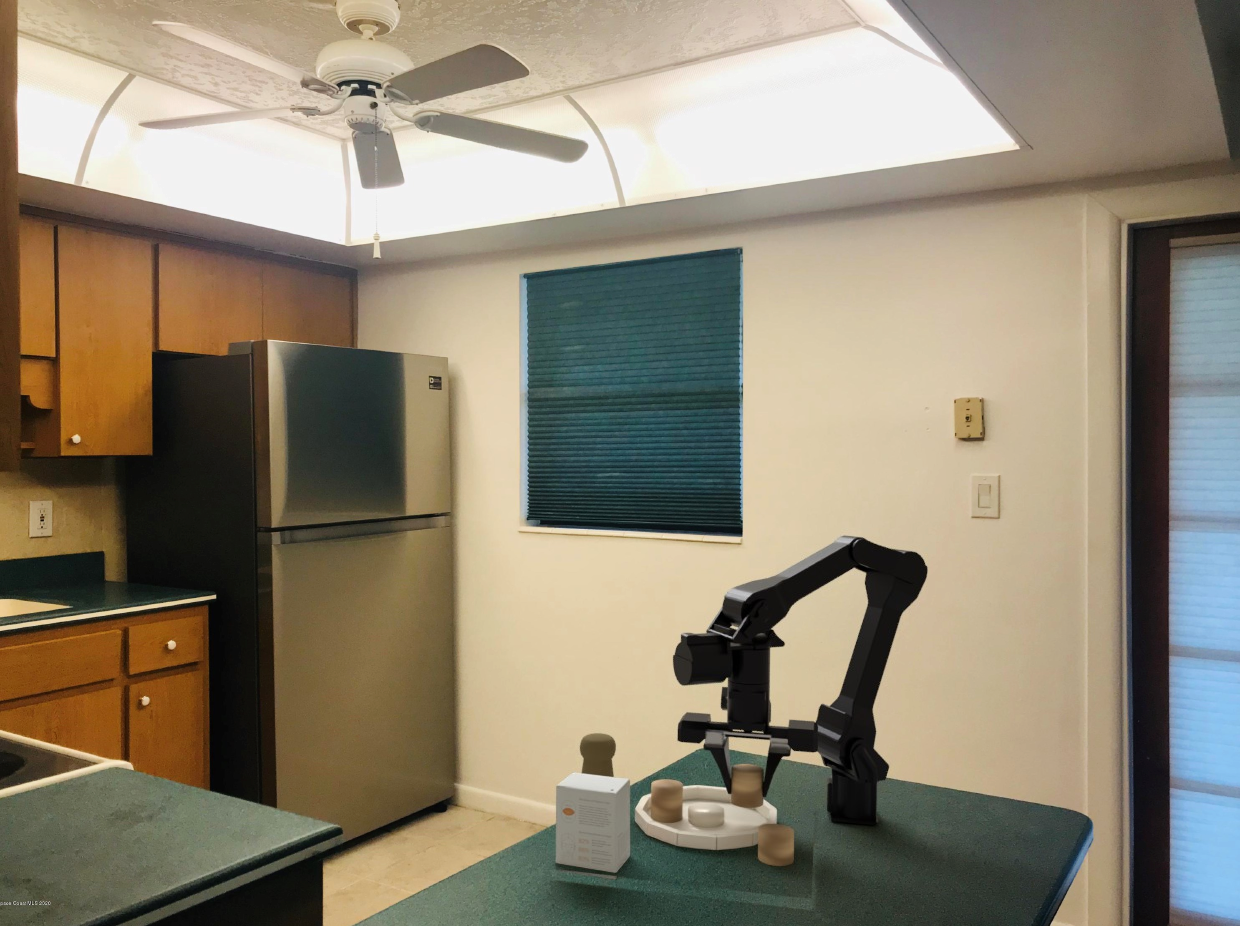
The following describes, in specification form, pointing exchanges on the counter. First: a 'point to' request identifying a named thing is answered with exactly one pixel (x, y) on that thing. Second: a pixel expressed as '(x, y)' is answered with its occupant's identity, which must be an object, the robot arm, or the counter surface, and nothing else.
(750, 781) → the tan rounded piece
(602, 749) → the cork
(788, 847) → the bead
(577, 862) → the small box
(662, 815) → the bead
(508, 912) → the counter surface
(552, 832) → the counter surface
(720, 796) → the tray
